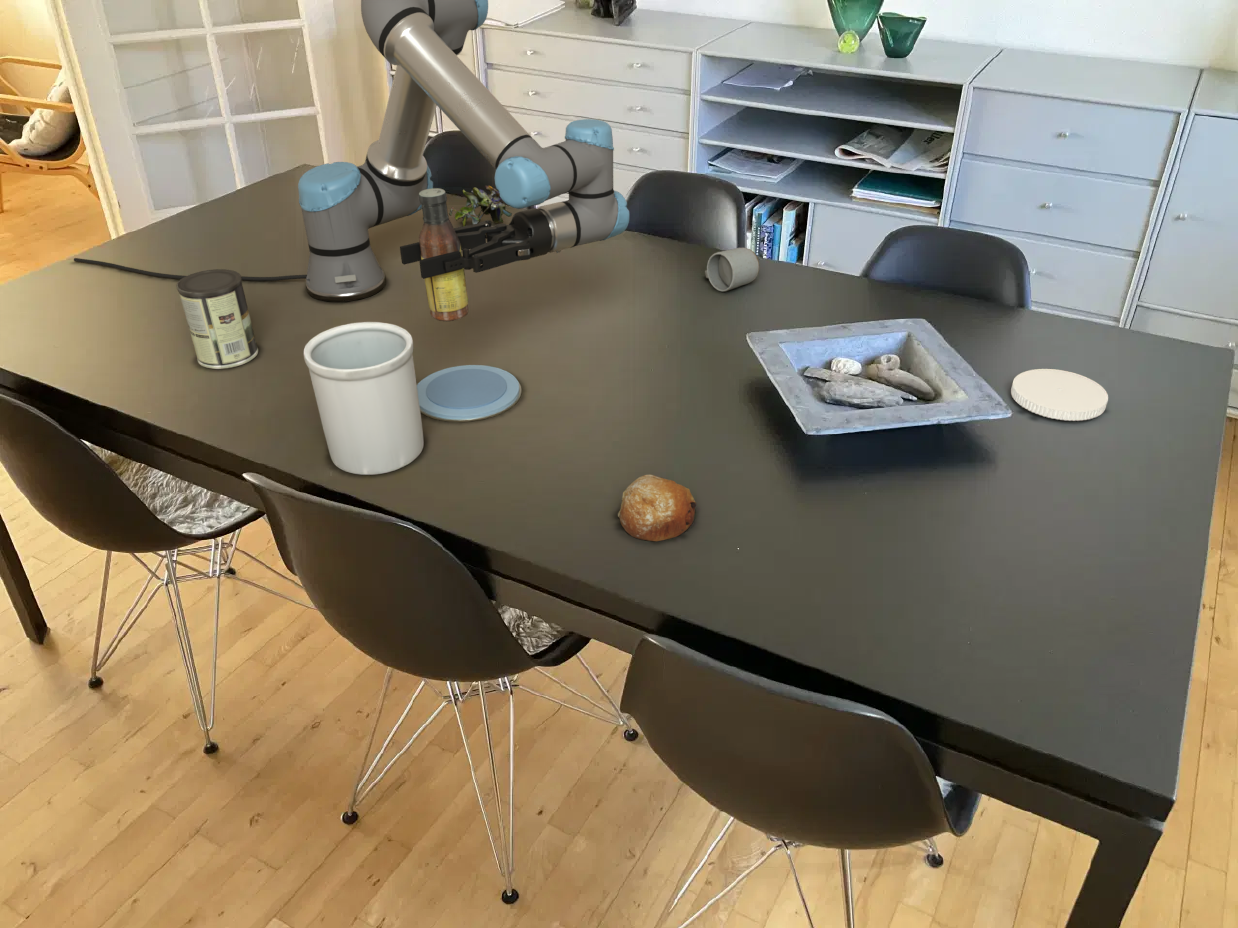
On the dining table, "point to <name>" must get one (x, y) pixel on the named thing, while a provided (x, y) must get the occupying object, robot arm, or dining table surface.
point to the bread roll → (656, 508)
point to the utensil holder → (367, 396)
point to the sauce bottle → (437, 240)
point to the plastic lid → (1059, 394)
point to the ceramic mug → (732, 268)
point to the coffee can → (218, 318)
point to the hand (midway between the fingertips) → (411, 262)
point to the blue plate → (467, 393)
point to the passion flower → (482, 206)
